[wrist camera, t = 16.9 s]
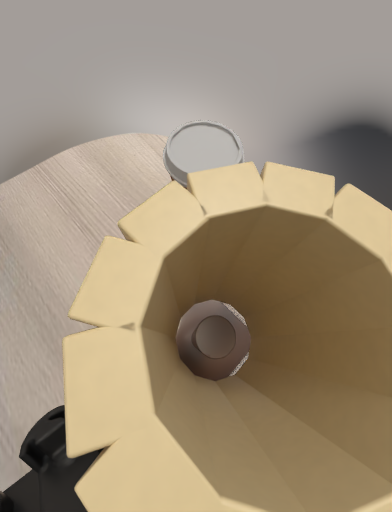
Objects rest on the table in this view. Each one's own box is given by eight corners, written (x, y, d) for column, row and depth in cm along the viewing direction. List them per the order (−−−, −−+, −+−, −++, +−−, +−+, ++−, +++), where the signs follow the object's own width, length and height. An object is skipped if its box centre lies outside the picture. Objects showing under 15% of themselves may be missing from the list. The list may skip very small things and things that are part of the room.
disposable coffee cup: (221, 241, 33) (239, 189, 21) (162, 226, 33) (149, 169, 22) (232, 192, 36) (253, 126, 25) (179, 180, 37) (175, 110, 26)
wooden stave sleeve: (133, 338, 15) (-29, 327, 4) (210, 263, 17) (253, 118, 6) (216, 436, 13) (395, 1017, 2) (291, 337, 15) (568, 324, 4)
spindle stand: (145, 339, 27) (101, 337, 13) (200, 285, 30) (211, 236, 16) (202, 404, 25) (221, 486, 11) (255, 338, 27) (325, 335, 14)
